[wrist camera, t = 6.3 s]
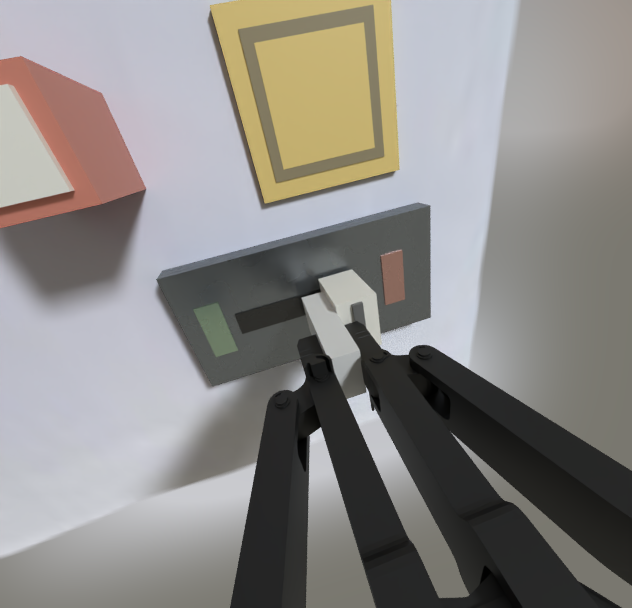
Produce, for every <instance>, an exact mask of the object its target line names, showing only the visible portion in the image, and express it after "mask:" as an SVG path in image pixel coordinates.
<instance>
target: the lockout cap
mask: <svg viewBox="0 0 632 608" xmlns="http://www.w3.org/2000/svg"><path fill="white" fill-rule="evenodd" d="M145 189H146V187H145V185H144V183H143V181H142V179H141V177H140V174H139V172H138V170H137V168H136V166H135V164H134V162H133V159H132V157H131V155H130V153H129V151H128V149H127V146H126V144H125V142H124V140H123V138H122V136H121V134H120V131H119V129H118V127H117V125H116V123H115V121H114V119H113V116H112V114H111V112H110V110H109V108H108V106H107V104H106V101H105V99H104V97H103V95H102V93H100V92H98V91H96V90H93V89H91V88H89V87H87V86H85V85H83V84H80V83H78V82H76V81H74V80H72V79H70V78H67V77H65V76H63V75H61V74H59V73H57V72H54V71H52V70H50V69H48V68H46V67H43V66H41V65H39V64H37V63H35V62H33V61H30V60H28V59H26V58H24V57H22V56H20V57H14V58H9V59H3V60H0V228H3V227H8V226H12V225H16V224H20V223H24V222H29V221H33V220H37V219H41V218H45V217H50V216H54V215H58V214H62V213H66V212H71V211H75V210H79V209H83V208H87V207H92V206H96V205H100V204H104V203H107V202H110V201H113V200H115V199H118V198H121V197H124V196H127V195H130V194H133V193H136V192H139V191H142V190H145Z"/></svg>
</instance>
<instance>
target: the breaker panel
mask: <svg viewBox="0 0 632 608" xmlns="http://www.w3.org/2000/svg"><path fill="white" fill-rule="evenodd" d="M351 269H352V270H353V271H354V272H355V273H356V274H357V275H358V276H359V277H360V278H361V279H362V280H363V281H364V282H365V283H366V284H367V285H368V286H369V287H370V288H371V289H372V290H373V291H374V292H375V293H376V296H377V305H378V314H379V324H380V333H383V332H386V331H389V330H393V329H396V328H399V327H402V326H405V325H408V324H412V323H415V322H418V321H421V320H424V319H427V318H431V308H430V205H426V204H422V203H415V204H411V205H407V206H403V207H400V208H396V209H392V210H389V211H385V212H381V213H377V214H374V215H370V216H366V217H362V218H359V219H355V220H351V221H347V222H344V223H340V224H336V225H332V226H329V227H325V228H321V229H317V230H314V231H310V232H306V233H303V234H299V235H295V236H291V237H288V238H284V239H280V240H276V241H273V242H269V243H265V244H261V245H258V246H254V247H250V248H246V249H243V250H239V251H235V252H231V253H228V254H224V255H220V256H217V257H213V258H209V259H205V260H202V261H198V262H194V263H190V264H187V265H183V266H179V267H175V268H172V269H168V270H164V271H162V272H161V274H160V275H159V276H158V278H157V279H156V280H157V282H158V284H159V286H160V288H161V290H162V291H163V293H164V295H165V297H166V299H167V301H168V303H169V305H170V307H171V309H172V310H173V312H174V314H175V316H176V318H177V320H178V322H179V324H180V326H181V327H182V329H183V331H184V333H185V335H186V337H187V339H188V341H189V343H190V345H191V346H192V348H193V350H194V352H195V354H196V356H197V358H198V360H199V362H200V364H201V365H202V367H203V369H204V371H205V373H206V375H207V377H208V379H209V381H210V383H211V384H212V386H216V385H219V384H222V383H225V382H228V381H231V380H235V379H238V378H241V377H244V376H247V375H250V374H254V373H257V372H260V371H263V370H266V369H269V368H272V367H276V366H279V365H282V364H285V363H288V362H291V361H295V360H298V359H301V358H300V355H299V351H298V348H297V344H298V341H299V339H302V338H305V337H309V336H312V335H311V332H310V329H309V325H308V321H307V317H306V313H305V309H304V306H303V302H302V297H306V296H309V295H313V294H316V293H320V292H321V290H320V285H319V281H318V279H320V278H323V277H327V276H330V275H334V274H337V273H341V272H344V271H348V270H351Z"/></svg>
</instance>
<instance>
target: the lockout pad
mask: <svg viewBox="0 0 632 608" xmlns="http://www.w3.org/2000/svg"><path fill="white" fill-rule="evenodd" d="M210 9H211V12H212V16H213V20H214V23H215V27H216V30H217V34H218V38H219V41H220V45H221V48H222V52H223V55H224V59H225V63H226V66H227V70H228V73H229V77H230V81H231V84H232V88H233V91H234V95H235V99H236V102H237V106H238V109H239V113H240V116H241V120H242V124H243V127H244V131H245V134H246V138H247V142H248V145H249V149H250V152H251V156H252V160H253V163H254V167H255V170H256V174H257V178H258V181H259V185H260V188H261V192H262V195H263V199H264V203H265V204H266V203H270V202H273V201H277V200H281V199H285V198H289V197H293V196H297V195H301V194H305V193H309V192H313V191H317V190H321V189H325V188H329V187H333V186H337V185H341V184H345V183H349V182H353V181H357V180H361V179H365V178H369V177H373V176H377V175H381V174H385V173H389V172H393V171H396V170H399V150H398V131H397V111H396V91H395V72H394V52H393V32H392V12H391V0H238V1H232V2H226V3H220V4H214V5H210Z"/></svg>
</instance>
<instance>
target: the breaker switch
mask: <svg viewBox="0 0 632 608" xmlns="http://www.w3.org/2000/svg"><path fill="white" fill-rule="evenodd" d="M318 281H319V285H320V290H321V292H324V293H325V295H326V297H327V298H328V300H329V301H330V303H331V305H332V306H333V308H334V310H335V311H336V313H337V314H338V316H339V317H340V319H341V321H342V322H343V324H344V325H346V324H349V323H352V322H355V321H358V322H360V323H362V324H364V326H365V327H366V328H367V330H368V331H369V332H370V334H371V335H372V336H373V338H374V339H375V341H376V342H377V343H378V345H381V344H382V342H381V333H380V324H379V314H378V305H377V296H376V293H375V292H374V291H373V290H372V289H371V288H370V287H369V286H368V285H367V284H366V283H365V282H364V281H363V280H362V279H361V278H360V277H359V276H358V275H357V274H356V273H355V272H354V271H353V270H352V269H351V270H348V271H344V272H341V273H337V274H334V275H330V276H327V277H323V278H320V279H318Z"/></svg>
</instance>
